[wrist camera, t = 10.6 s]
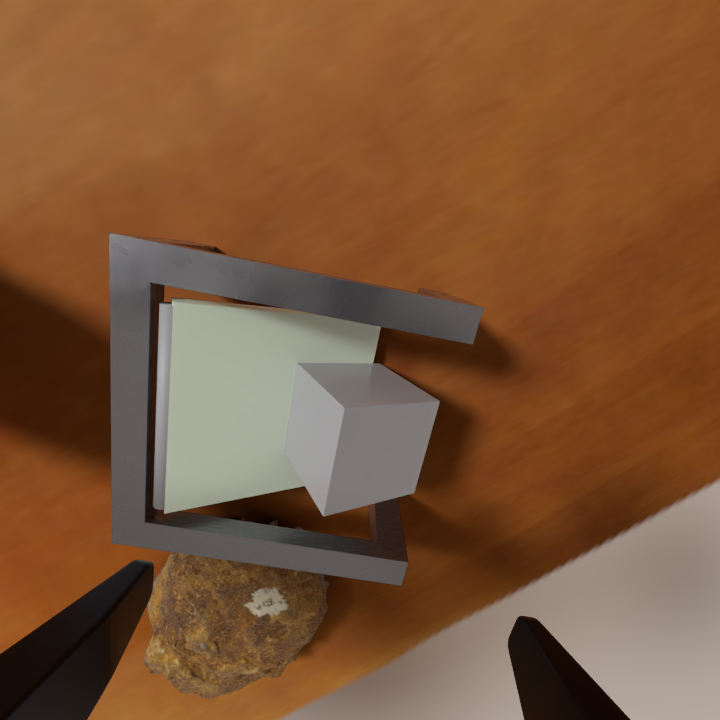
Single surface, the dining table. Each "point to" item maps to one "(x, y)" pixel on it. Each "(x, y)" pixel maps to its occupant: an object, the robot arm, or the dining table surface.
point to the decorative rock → (229, 621)
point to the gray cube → (357, 433)
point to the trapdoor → (235, 395)
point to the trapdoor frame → (139, 388)
